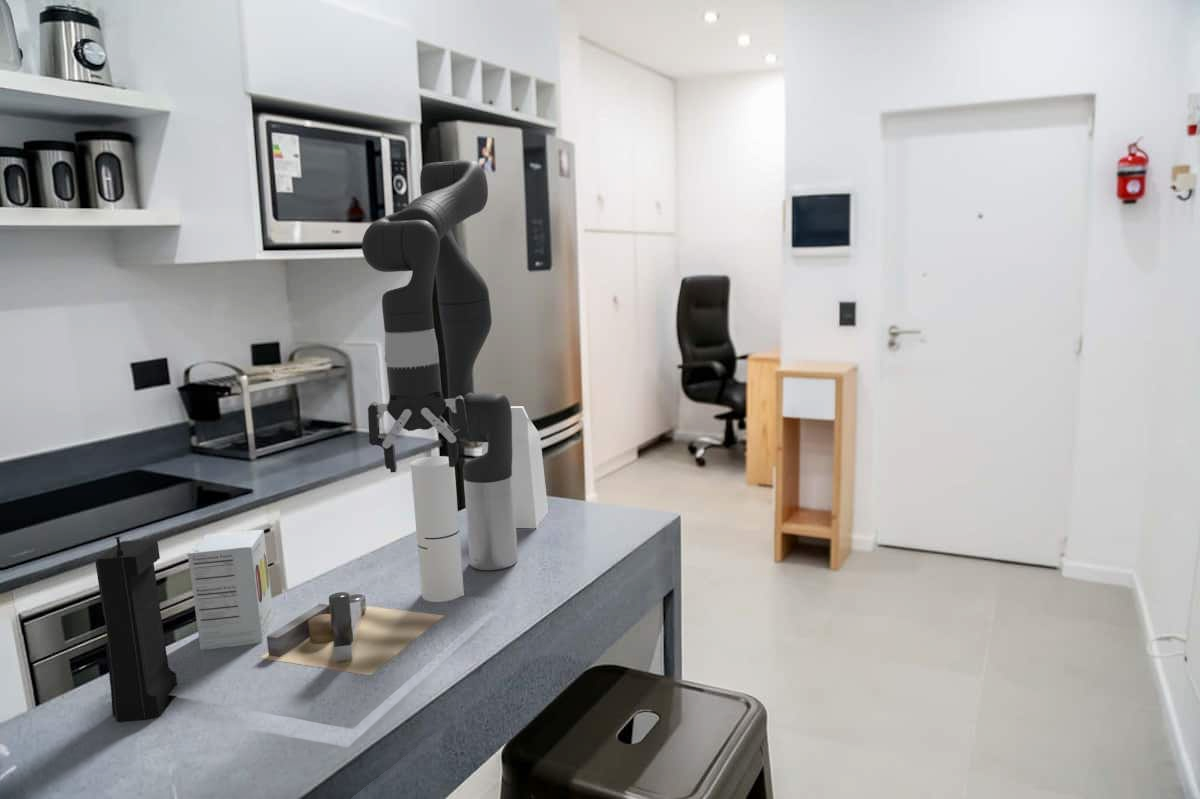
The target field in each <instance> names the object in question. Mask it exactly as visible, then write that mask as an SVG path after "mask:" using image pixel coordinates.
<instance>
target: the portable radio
mask: <svg viewBox="0 0 1200 799" xmlns="http://www.w3.org/2000/svg"><path fill="white" fill-rule="evenodd" d="M114 539H115V540H116V543H117V544H116V545H115V546H113V547H111V548H110V549H109V550H108V551H106V552H105V553H103V554H102V555H100V556H98V558H97V559H96V561H95V569H96V576H97V581H98V582H97V583H98V588H99V596H100V603H101V609H102V616H103V618H104V625H105V630H106V631H105V632H106V637H107V644H105V647H106V648H105V649H106V658H107V666H108V674H109V675H108V676H109V684H110V694H111V695H110V696H111V697H110V698H111V710H112V712H111V714H112V715H111V716H112V717H113V718H115V721H116V722H127V721H139V720H146V719H151V718H155V717H159V716H161V715H162V714H163V713H164V712H165V711H166V709H167V708H168V707H169V706H170V704H171V703H172V702H173V701H174V699H175V698H176V697H177V695H172V694H171V692H172V691H173V690H174V689H175V688H176V687H177V685H178V680H177V673H176V672H175V671H173V670H171V668H170V667H169V662H168V661H169V660H168V654H167V648H166V647H167V646H166V641H165V640H166V639H165V634H164V627H163V619H162V613H161V611H162V610H161V606H160V605H161V604H160V598H159V592H158V584H157V578H156V570H155V569H156V568H155V564H154V563H156V562H158V561H159V560H160V559H161V557H160V556H161V555H160V549H159V542H158V540H154V539H139V540H122V541H120V539H121V536H116V537H114Z"/></svg>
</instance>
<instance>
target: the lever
mask: <svg viewBox="0 0 1200 799" xmlns="http://www.w3.org/2000/svg"><path fill="white" fill-rule="evenodd" d="M366 602H367V601H366V595H364V594H362V593H356V594H355V593H354V594H349V592H345V591H341V592H335V593H333V594H331V595H329V596H328V605H329V606H330V615H331V625H332V635H333V644H334V655H335V661H343V660H351V659H353V654H354V649H355V645H356V640H357V635H358V630H359V625H360V621H361V616H362V613H364V612H365V611H366V606H367V603H366Z"/></svg>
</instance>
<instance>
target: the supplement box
mask: <svg viewBox="0 0 1200 799" xmlns="http://www.w3.org/2000/svg"><path fill="white" fill-rule="evenodd" d="M187 558H188V566H189V573H190V574H189V575H190V580H191V581H190V582H191V587H192V595H193V603H194V609H195V618H196V625H197V633H198V640H199V642H198V643H199V649H200V650H212V649H221V648H230V647H238V646H239V647H240V646H246V645H253V644H261V643H263V642H264V640H265V638H266V637H267V634H268V632H269V630H270V628H271V626H272V624H273V621H274V618H275V617H274V608H273V599H272V598H273V597H272V591H271V581H270V573H269V572H270V571H269V565H268V564H269V563H268V556H267V548H266V539H265V531H264V529H252V530H243V531H234V532H223V533H222V532H221V533H215V534H206V535H203V537H202V538H201V540H200V541H199V542H198V543H197V544H196V545H195V547H194V548H192V549H191V551H189V552H188V554H187Z"/></svg>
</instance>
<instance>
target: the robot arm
mask: <svg viewBox="0 0 1200 799" xmlns="http://www.w3.org/2000/svg"><path fill="white" fill-rule="evenodd" d="M419 175H420V176H419V184H420V186H419V187H420V188H419V189H420V196H418V197H416V198H415V199H413V200H412V201H410V203H408V204H407V205H406V206H405V207H404V208H403V209H402V210H400V211H397V212H394V213H391V214H388V215H386V216H383V217H380V218H378V219H376V220H375V221H373V222H372V223H371V224H370V225H369V226H368V228H367V229H366V230H365V232H364V233H363V237H362V240H361V243H362V244H361V250H362V255H363V257H364V259H365V261H366V263H367V264H368V265H369V266H370V267H371V268H373V269H374V270H376V271H379V272H383V273H393V272H394V273H395V272H397V273H398V272H411V273H412V274H411V278H410V279H409V282H408V283H407V284H406V285H404V286H401V287H397V288H393V289H390V290H388V291H386V292H384V293H383V295H382V297H381V307H382V308H381V309H382V318H383V326H384V328H383V329H384V361H385V366H386V375H387V387H388V394H389V397H388V398H389V400H388V403H378V402H375V401H374V402H371V403H370V404H369V406H368V407H367V413H368V414H367V415H368V416H367V420H368V422H367V423H368V441H369V444H370V445H371V446H378V447H381V448H382V449H383V458H384V463H385V464H384V465H385V466H384V467H385V468H386V469H387V470H390V473H391V474H392V473H396V472H397V471H398V470H397V469H398V466H397V456H396V448H395V447H396V446H395V444H394V441H395V440H396V439H397V437H398V436H399V434H400V432H401V431H402V430H403V429H404V430H406V431H407V432H412V431H416V430H423V431H424V430H430V429H431V428H433V427H434V428H435V429H436V431H438V433H440V434H441V435H442V436H443V437H444V438H445V439H446V440H447V442H446V443H447V444H446V447H447V457H448V458H449V467H454V468H455V464H458V462H459V450H458V449H459V447H458V441H460V442H465V443H483V442H488V451H487V453H486V454H484V455H482V454H481V456H476V457H475V458H472V459H470V460H468V461H466V462H465V463H463V467H462V474H463V475H462V476H463V477H462V478H463V488H464V489H463V490H464V499H465V502H464V503H465V514H466V516H465V517H466V529H467V540H468V541H467V542H468V555H469V556H468V558H469V565H470V567H471V568H473V569H476V570H480V571H495V570H496V571H497V570H502V569H507V568H509V567H511V566H513V565H515V564H516V563H517V562H518V555H519V553H518V552H519V551H518V550H519V549H518V536H517V529H516V518H515V510H514V497H513V482H512V413H511V407H512V406H511V403H510V400H509V399H508V397H507V396H506V395H505V394H503V393H494V392H493V393H484V392H483V393H482V392H481V393H480V392H479V393H477V392H475V393H474V392H473V386H472V385H473V384H472V383H473V382H472V376H473V369H474V365H475V362H476V360H477V359H478V356H479V354H480V352H481V350H482V347H483V346H484V344H485V342H486V340H487V337H488V336H489V334H490V330H491V326H492V310H491V301H490V300H491V299H490V294H489V293H490V292H489V288H488V285H487V283H486V282H485V280H484V278H483V276H482V275H481V274H480V273H479V271H478V270H477V268H476V267H475V266H474V265H473V264H472V263H471V261H470V260H469V258H467V256H466V255H465V253H464V252H463V250H462V249H461V247H460V246H459V244H458V243H457V240H456V239H455V235H454V233H453V231H452V229H453V228H454V227H456V226H457V225H459V224H460V223H461V222H463V221H465V220H466V219H468V218H470V217H472V216H474V215H476V214H478V213H480V212H482V211H483V210H484V209H485V206H486V204H487V202H488V198H489V196H488V195H489V189H488V187H489V186H488V180H487V179H488V178H487V175H486V172H485V169H483V167H482V165H481V164H480V163H478V162H476V161H475V160H468V159H466V160H464V159H462V160H449V161H442V162H441V161H439V162H438V161H437V162H430V163H425V165H423V166H422V168H421V170H420V174H419ZM435 281H436V282H435ZM434 283H435V284H436V294H437V303H438V304H437V305H438V310H439V319H440V323H441V324H440V325H441V330H442V337H443V344H444V352H445V361H446V370H447V372H446V373H447V392H448V393H447V395H448V398H445V397H444V395H443V391H442V381H441V368H440V356H439V355H440V354H439V348H438V347H439V346H438V339H437V336H436V331H435V322H434V312H433V311H434V310H433V293H434ZM447 407H448V412H449V414H448V415H449V422H450V425H449V424H448V422H447V421H446V420H445V418H443V416H442V414H443V413H444V411H445V409H446V408H447ZM385 412H388V413H389V415H390V416H391V417H392V418H393V419H394V420H395V422H394V423H393V425H392V427H391V428H390V430H389V432H388V433H387V434H386V436H384V435H381V434H380V419H382V418H383V417H384V415H385V414H384V413H385Z"/></svg>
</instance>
